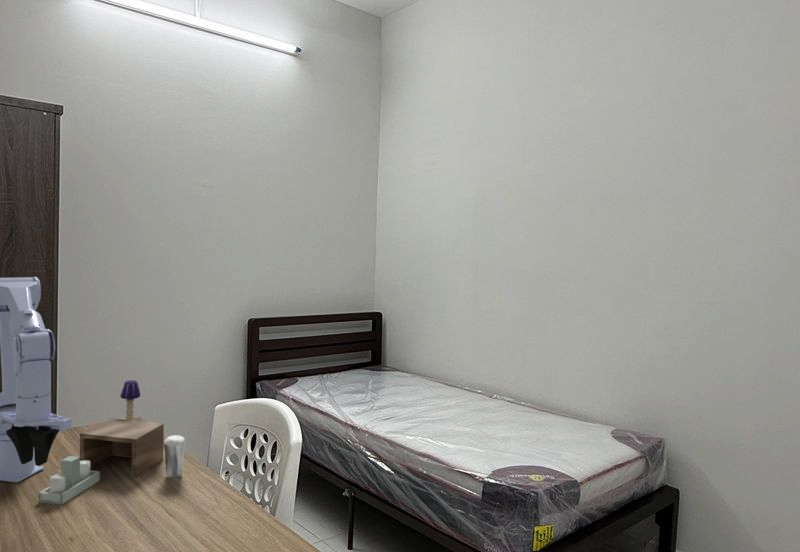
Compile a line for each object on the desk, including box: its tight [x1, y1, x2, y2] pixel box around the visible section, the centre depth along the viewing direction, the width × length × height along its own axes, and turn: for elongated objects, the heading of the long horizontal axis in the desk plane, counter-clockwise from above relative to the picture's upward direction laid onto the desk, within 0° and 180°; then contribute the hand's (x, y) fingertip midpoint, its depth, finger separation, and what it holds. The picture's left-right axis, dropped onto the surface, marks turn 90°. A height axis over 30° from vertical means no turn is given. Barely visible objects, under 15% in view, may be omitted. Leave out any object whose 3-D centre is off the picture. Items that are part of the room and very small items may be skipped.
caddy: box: [37, 455, 101, 506], centre depth 122 cm, size 5×12×7 cm, turn 172°
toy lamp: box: [120, 379, 141, 421], centre depth 149 cm, size 5×5×17 cm
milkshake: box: [163, 434, 188, 479], centre depth 132 cm, size 5×5×10 cm
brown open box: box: [79, 418, 165, 478], centre depth 137 cm, size 14×11×9 cm
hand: (34, 463), depth 112 cm, fingers open, 3 cm apart
